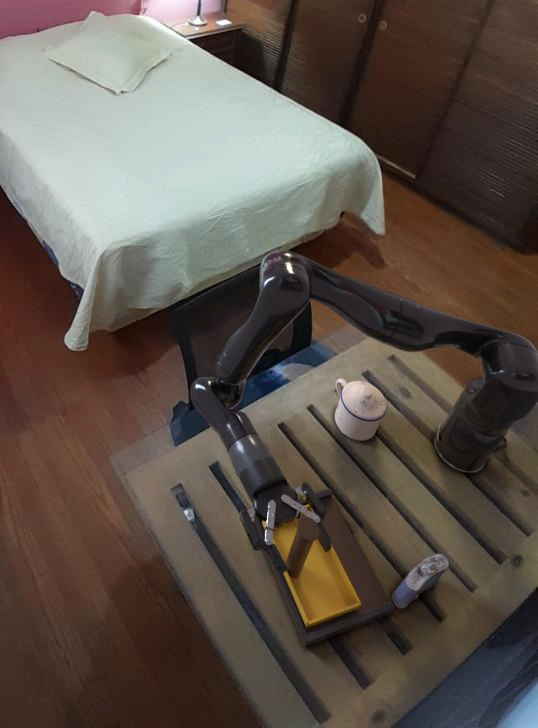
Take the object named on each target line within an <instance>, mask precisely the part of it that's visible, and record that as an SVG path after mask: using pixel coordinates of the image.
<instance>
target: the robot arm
mask: <svg viewBox="0 0 538 728" xmlns="http://www.w3.org/2000/svg"><path fill="white" fill-rule="evenodd" d="M258 285H259V286H258V287H259V294H258V298H257V301H256V302H255V306H254V307H253V310H252V313H251V314H250V316H249V317H248V319H247V321H245V323H244V324H243V325H241V326H240V327H239V328H237V329H236V330H235V331H234V332H233V333H232V334H231V335H230V336H229V337H228V339H227V340H226V342H225V344H224V345H223V347H222V349H221V350H220V351H219V354H218V355H217V357H216V359H215V362H214V367H213V368H214V372H215V375H205V376H200V377H197V378H195V379H194V380H193V382H192V384H191V386H190V391H189V393H190V398H191V402H192V405H193V407H194V409H195V411H197V413H198V414H199V415H200V417H201V418H202V419H203V420H204V421H205V422H206V423H207V424H208V426H209V427H210V428H211V429H212V431H214V432H215V433H216V434H217V436H218V437H219V439H220V441H221V443H222V445H223V447H224V449H225V450H226V453H227V455H228V457H229V459H230V462H231V465H232V467H233V469H234V472H235V474H236V476H237V477H238V479H239V481H240V483H241V485H242V486H243V488H244V491H245V493H246V494H247V497H248V498H249V500H250V502H251V504H252V507H250V508H248V509H247V508H245V507H242V508H241V510H240V514H239V520H240V521H241V525H242V527H243V530H244V531H245V535H246V536H247V539H248V541H249V544H250V545H251V548H252V550H253V551H255V552H258V551H260V550H261V551H264V552H265V551H266V552H267V554H268V556H269V558H270V560H271V561H272V564H273V566H274V568H275V569H276V570H277V571H278V570H280V572H281V573H284V572H286V570H287V567H286V564H285V562H284V560H283V559H282V557H281V555H280V553H279V551H278V549H277V547H276V545H275V544H273V543H272V539H273V529H274V527H277V528H280V527H282V526H283V525H284V524H286V523H291V522H293V521H294V519H296V520H299V519H300V518H302V517H310V518H312V519H313V520H314V521H315V522H316V523H317V525H318V527H319V536H318V538H317V539H318V540H319V542H320V544H321V546H322V547H323V549H324V551H325V552H328V551H330V550H331V543H332V542H331V538H330V537H329V535H328V533H327V532H326V530H325V528H324V527H323V525H322V521H323V520H324V518H325V515H326V513H327V510H326V509H325V507H324V506H323V504H322V503H321V501H320V500H319V498H318V497H317V495H316V494H315V493H316V492H315V491H314V489H313V488H312V487H311V485H310V484H309V482H308V481H303V482H302V483H301V484H300V486H298V487H296V488H293V487H292V486H291V485H290V484H289V482H288V480H287V478H286V476H285V475H284V472H283V471H282V469H281V467H280V465H278V462H277V461H276V459H275V458H274V456H273V454H272V452H271V450H270V449H269V447H268V445H266V443H265V441H264V440H263V439H262V437H261V436H260V434H259V433H258V431H257V429H256V427H255V426H254V424H253V422H252V420H251V418H250V417H249V416H248V415H247V414H246V413H245V412H243V411H242V410H241V411H240V410H237V409H234V408H236V407H237V406H238V405H239V404H240V402H241V401H242V398H243V395H244V392H245V391H244V390H245V387H246V384H247V379H248V378H249V376H250V374H251V373H252V372H253V370H254V368H255V367H256V365H257V364H258V362H259V361H260V359H261V358H262V356H263V354H264V353H265V352H266V350H267V349H268V348H269V346H270V345H271V344H272V343H273V342H274V341H275V339H277V337H278V336H280V335H281V333H282V332H283V331H284V330H285V329H286V328H287V327H288V326H289V325H290V324H291V323H292V322H293V321H294V320H295V319H296V318H297V317H298V316H299V315H300V314H301V313H302V312H303V311H304V310H305V309H306V307H307V306H308V305H309V303H310V302H311V301H314V302H317V303H319V304H321V305H323V306H324V307H327V308H329V309H330V310H331V311H333V312H334V313H336V314H337V315H339V316H340V317H341V318H342V319H344V320H345V321H346V322H347V323H348V324H349V325H351V326H352V327H353V328H354V329H356V330H357V331H359V332H360V333H361V334H363V335H365V336H366V337H368V338H369V339H371V340H373V341H375V342H378V343H380V344H383V345H386V346H388V347H392V348H394V349H396V350H399V351H402V352H406V353H422V352H428V351H432V350H439V349H445V348H446V349H452V350H455V351H458V352H462V353H464V354H467V355H469V356H471V357H473V358H475V359H477V361H478V363H479V367H480V372H481V375H482V376H480V377H474V378H472V379H470V380H469V381H468V382H467V383H466V384H465V386H464V387H463V389H462V390H461V392H460V393H459V395H458V398H457V399H456V401H455V403H454V404H453V405H452V408H451V410H450V411H449V413H448V414H447V417H446V418H445V420H444V422H443V423H442V425H441V424H438V428H437V432H436V434H435V435H434V438H433V446H434V449H435V452H436V453H437V456H438V457H439V458H440V459H441V460H442V462H444V464H446V465H447V466H448V467H450V468H451V469H452V470H454V471H456V472H459V473H463V474H476V473H479V472H480V471H481V470H482V469H483V468H484V466H485V464H486V462H487V461H488V460H489V458H490V457H491V456H492V454H494V453H495V454H496V453H498V452H501V451H503V450H504V449H507V447H508V441H507V438H506V437H505V436H506V435H507V434H508V433H509V431H510V430H511V428H512V427H513V426H514V424H515V423H516V422H518V421H519V420H522V419H524V418H526V417H527V416H528V415H529V414H530V413H531V412H532V411H533V410H534V409H535V408H536V406H537V405H538V350H537V349H536V347H535V345H534V344H533V343H532V342H531V341H530V340H529V339H527V338H526V337H524V336H522V335H520V334H518V333H514V332H511V331H509V330H505V329H502V328H497V327H494V326H490V325H486V324H482V323H478V322H474V321H472V320H467V319H464V318H461V317H458V316H455V315H453V314H451V313H450V314H449V313H447V312H443V311H441V310H438V309H435V308H432V307H430V306H427V305H425V304H422V303H419V302H417V301H416V300H415V301H414V300H413V299H409V298H407V297H405V296H402V295H398V294H397V293H394V292H391V291H387V290H384V289H381V288H378V287H376V286H373V285H371V284H368V283H366V282H363V281H360V280H358V279H355V278H353V277H349V276H347V275H344V274H341V273H339V272H337V271H336V270H333V269H331V268H329V267H327V266H325V265H322V264H320V263H319V262H316V260H315V261H314V260H313V259H310V258H308V257H306V256H304V255H302V254H300V253H297V252H294V251H290V250H283V249H281V250H274V251H272V252H269V253H268V254H266V255H265V256H264V258H263V259H262V260H261V263H260V266H259V284H258ZM298 497H299V498H302V499H303V500H306V501H307V503H308V504H309V506H310V507H311V509H312V510H313V512H314V513H315V514H314V513H312V512H311V511H309V510H308V509H307V508H306V507H305V506H303V505H301V504H299V503H298V502H297V499H298ZM254 515H256V516H257V517H258V518H260V519H262V520H263V521H265V532H264V538H259V536H258V533H257V531H256V528H255V526H254V524H253V522H254Z"/></svg>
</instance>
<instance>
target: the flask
mask: <svg viewBox="0 0 538 728" xmlns="http://www.w3.org/2000/svg"><path fill="white" fill-rule="evenodd" d="M450 566H451V563H450V560H449V559H448V557H447V556H446V555H444V554H442V553H435V554H433V555H430V556H428V557H426V558H424V559H422V560H421V561H419V562H418V563H416V564H415V565H414V566H413V567H412V568H411V569H410V570H409V572H408V573H407V575H406V576H405V577H404V578H403V580H402V581H401V582H400V584H399V585H398V586H397V587H396V589H395V590H394V591H393V593H392V596H391V601H392V602H393V604H394V606H395V607H396V608H397V609H400V610H402V609H405V608H406V607H408V606H409V604H410V603H411V602H412V601H415V600H417V599H418V598H419V595H420V593H421V594H423V593H424V591H425V590H428V589H430V588H431V587H433V586H434V584H435V583H436V582H437V581H438V580H439V579H440V578H441V577H442V575H443V574H444V573H445V572H446V571H447V570H448V569H449V568H450Z"/></svg>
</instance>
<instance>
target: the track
mask: <svg viewBox="0 0 538 728" xmlns="http://www.w3.org/2000/svg"><path fill="white" fill-rule="evenodd" d="M314 493H315V494H316V495H317V497H318V498H319V500H320V501H321V503H322V504H323V506H324V507H325V509H326V510H327V513H326V515H325V518H324V520H323V521H322V525H323V527H324V528H325V530H326V532H327V533H328V535H329V537H330V538H331V542H332V543H331V545H332V546H333V548H334V550H335V552H336V554H337V556H338V558H339V560H340V562H341V564H342V566H343V568H344V570H345V572H346V574H347V576H348V578H349V580H350V582H351V584H352V586H353V588H354V590H355V592H356V594H357V596H358V598H359V600H360V602H361V604H362V605H361V606H360V608H359V609H358V610H355V611H352V612H350V613H347V614H345V615H342V616H339V617H337V618H334V619H331V620H329V621H326V622H323V623H321V624H318V625H316V626H313V627H310V628H308V629H305V627H304V624H303V622H302V620H301V617H300V615H299V613H298V610H297V608H296V606H295V603H294V601H293V599H292V596H291V594H290V591H289V589H288V587H287V584H286V582H285V580H284V577H283V575H282V573H281V572H280V570H278V571H277V570H276V569H275V568H274V566H273V564H272V561H271V560H270V558H269V556H268V554H267V552H266V551H265V550H264V552H265V555H266V557H267V560H268V562H269V564H270V567H271V570H272V573H273V574H274V577H275V580H276V581H277V584H278V586H279V588H280V591H281V593H282V596H283V598H284V601H285V603H286V606H287V609H288V611H289V613H290V615H291V618H292V620H293V622H294V625H295V628H296V630H297V632H298V634H299V635H298V636H299V637H300V639H301V642H302V644H303V646H304V647H307V646H310V645H313V644H316V643H318V642H321V641H323V640H327V639H328V638H331V637H333V636H337V635H339V634H341V633H344V632H346V631H349V630H351V629H355V628H358V627H360V626H362V625H364V624H368V623H370V622H372V621H373V622H374V621H376V620H377V619H380V618H384V617H386V616H388V615H390V614H393V612H394V611H395V610H396V606H395V604H394V603H393V601H389V600H388V598H387V597H386V595H385V593H384V591H383V589H382V587H381V586H380V583H379V581H378V580H377V578H376V576H375V575H374V573H373V570H372V569H371V567H370V566H369V563H368V561H367V559H366V558H365V556H364V554H363V552H362V550H361V548H360V546H359V545H358V543H357V541H356V539H355V537H354V535H353V534H352V531H351V530H350V528H349V526H348V525H347V523H346V521H345V519H344V517H343V515H342V513H341V512H340V509H339V508H338V506H337V504H336V502H335V500H334V498H333V494H334V492H333V490H332V489H331V488H326V489H324V490H320V491H318V492H314ZM297 502H298V503H299V504H301V505H303V506H305V505H308V503H307V501H306V500H303V499H302V498H301V497H299V498H297ZM253 524H254V527H255V529H256V531H257V533H258V536H259V538H264V530H263V528H262V525H261V524H262V519H260V518H258V517H257V516H256V515H254V522H253Z"/></svg>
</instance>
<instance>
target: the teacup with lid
mask: <svg viewBox="0 0 538 728" xmlns="http://www.w3.org/2000/svg"><path fill="white" fill-rule="evenodd" d="M342 386H343V387H342ZM335 389H336V392H337V395H338V396H339V401H338V404H337V406H336V410H335V412H334V420H335V423H336V427H338V429H339V430H340V432H341V433H342V434H343V435H344V436H346V437H347V438H350V439H352V440H355V441H359V442H360V441H361V442H363V441H368V440H369V439H372V438H373V437H374V436H375V434H376V432H377V430H378V428H379V425H380V423H381V421H382V419H383V418H384V417H385V415H386V414H387V410H388V405H387V401H386V398H385V396H384V394H383V393H382V392H381V391H380V390H379V389H378V388H377V387H376V386H375V385H373V384H371V383H370V382H366V381H363V380H353V381H350V382H347V380H345V379H344V378H338V379H337V380H336V381H335Z"/></svg>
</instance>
